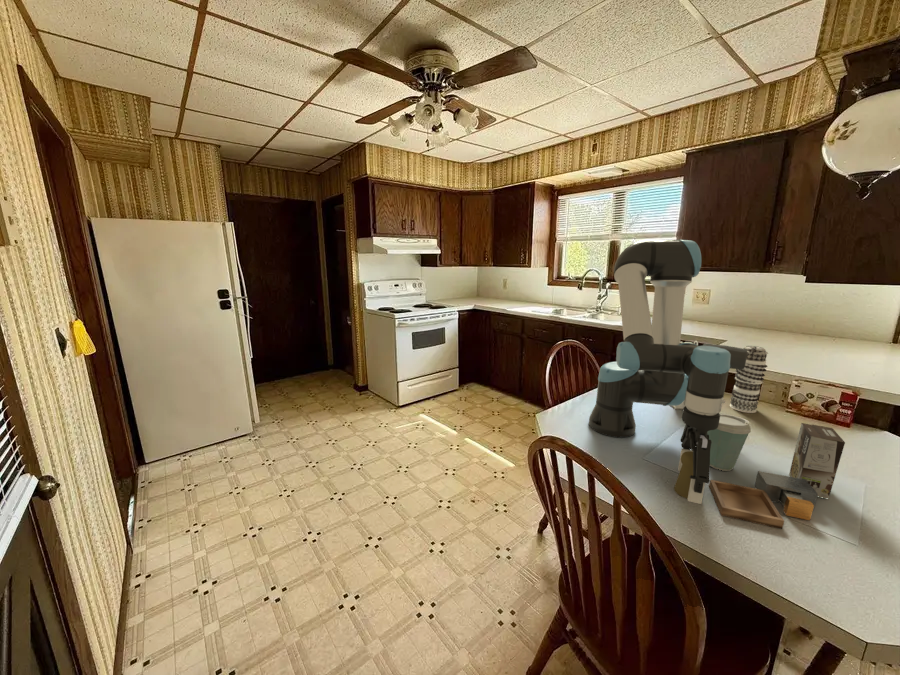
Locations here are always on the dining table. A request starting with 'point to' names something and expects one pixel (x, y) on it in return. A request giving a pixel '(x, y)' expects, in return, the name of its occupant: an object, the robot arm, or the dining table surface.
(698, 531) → the dining table surface
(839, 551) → the dining table surface
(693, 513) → the dining table surface
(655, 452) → the dining table surface
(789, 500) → the orange and gray block
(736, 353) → the rubber mallet
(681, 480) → the cork
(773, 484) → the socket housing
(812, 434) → the coffee box
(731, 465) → the disposable coffee cup
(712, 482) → the tray
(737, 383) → the white patterned cylinder
